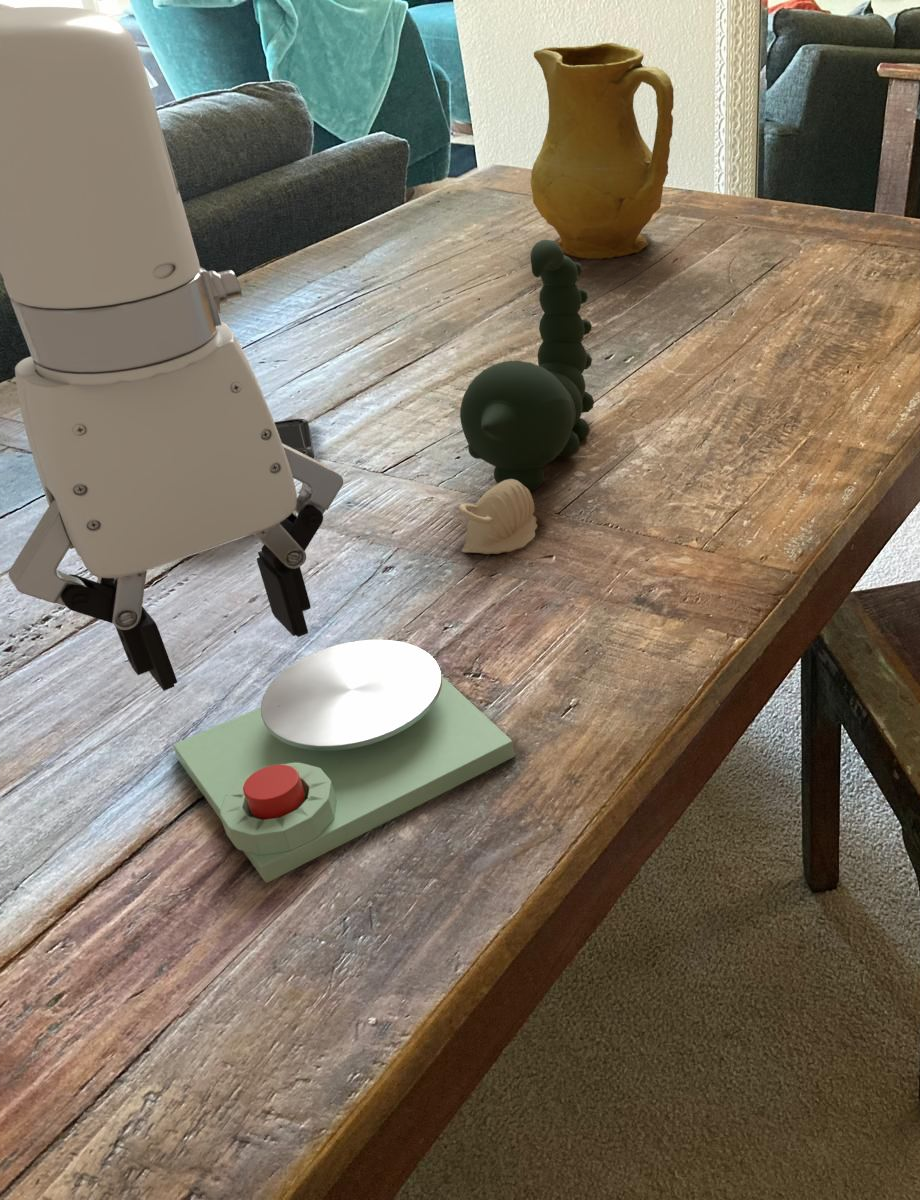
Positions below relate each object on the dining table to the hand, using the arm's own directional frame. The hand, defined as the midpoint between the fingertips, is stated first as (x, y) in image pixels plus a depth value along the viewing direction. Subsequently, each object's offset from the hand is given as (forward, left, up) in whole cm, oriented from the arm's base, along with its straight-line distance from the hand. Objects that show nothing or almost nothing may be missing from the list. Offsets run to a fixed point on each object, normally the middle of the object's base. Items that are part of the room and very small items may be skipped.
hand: (227, 647), depth 63 cm
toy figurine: (+37, +32, -14) cm, 51 cm away
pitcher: (+77, +80, -14) cm, 112 cm away
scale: (+5, +4, -14) cm, 15 cm away
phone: (+15, +51, -14) cm, 55 cm away
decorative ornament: (+26, +21, -14) cm, 37 cm away
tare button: (0, 0, -11) cm, 11 cm away
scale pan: (+7, +6, -11) cm, 14 cm away
